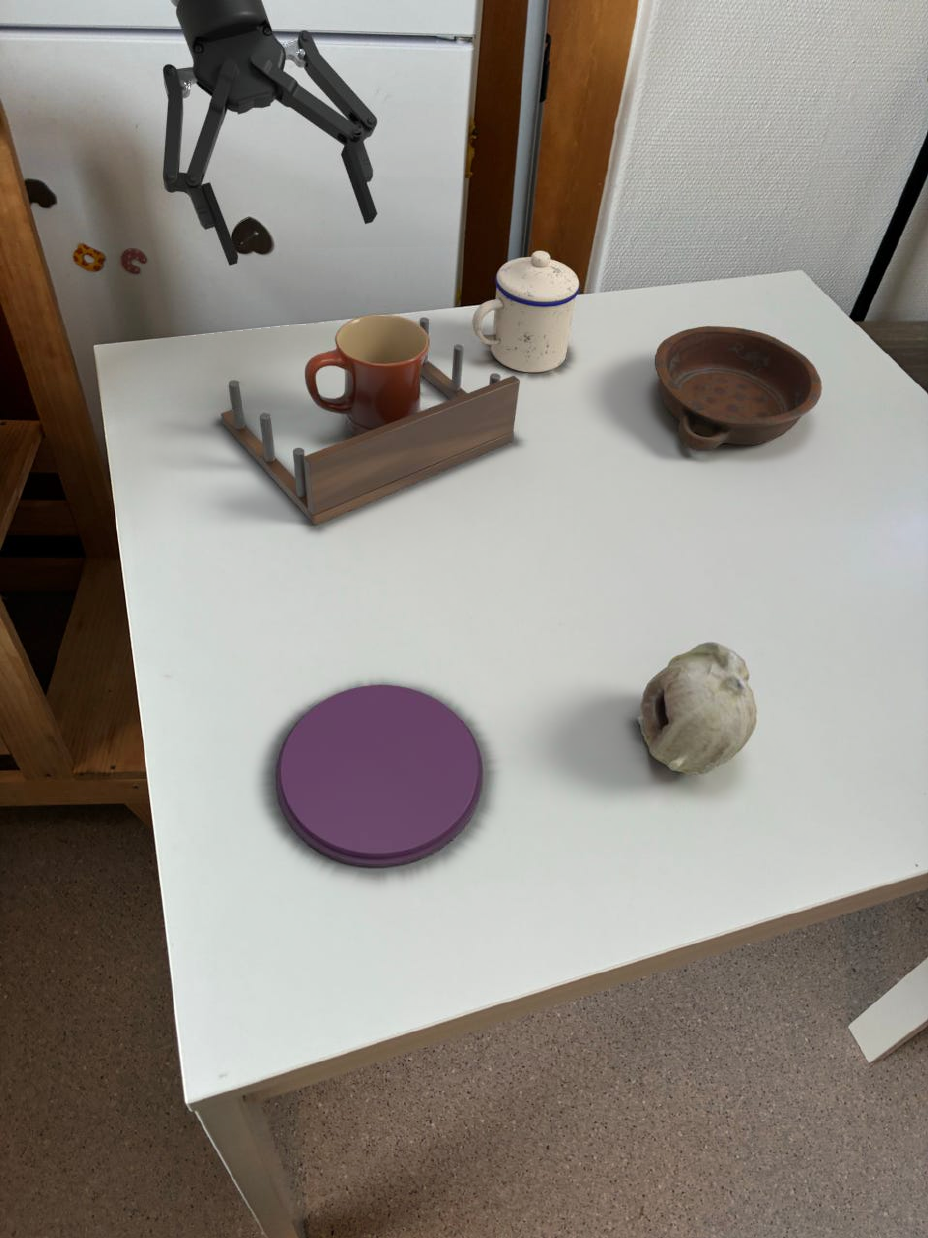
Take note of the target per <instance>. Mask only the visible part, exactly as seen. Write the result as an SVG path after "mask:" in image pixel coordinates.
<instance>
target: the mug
mask: <svg viewBox="0 0 928 1238" xmlns="http://www.w3.org/2000/svg"><path fill="white" fill-rule="evenodd" d="M334 342H335V347H336V348H335V349H333V350H328V351H325V352H322V353H318V354H316V355H314V356H312V357H311V358H310V359H309V360H308V361H307V363H306V365H305V367H304V381H305V385H306V389H307V392H308V394H309V396H310V398H311V399H312V401H313V402H314V403H315V405H317V406H318V407H319V408H320V409H322V410H324V411H326V412H331V413H335V414H341V415H345V418H346V422H347V425H348V428H349V430H350V432H351V433H352V435H353V436H354V437H356V436H358V435H361V434H363V433H366V432H369V431H371V430H374V429H376V428H379V427H382V426H384V425H387V424H389V423H392V422H394V421H397V420H400V419H402V418H405V417H407V416H410V415H413V414H415V413H418V412H420V411H422V408H421V399H422V398H421V396H422V393H421V392H422V391H421V390H422V389H421V388H422V387H421V376H422V375H421V368H422V364H423V361H424V359H425V356H426V353H427V351H428V352H429V347H430V343H431V341H430V335H429V336H428V334H427V332H426V331H425V330H424V329H423V328H422V327H421V326H420V323H417V322H415V321H413V320H412V319H409V318H406V317H403V316H399V315H394V314H384V313H383V314H382V313H381V314H379V313H377V314H367V315H363V316H359V317H356V318H353V319H351V320H348V322H347V321H346V323H344V324H343V325H341V327H340V328H339V329H338V330H337V332H336V334H335V335H334ZM325 367H336V368H337V367H338V368H340V369H342V370H344V390H343V391H344V392H343V394H342V395H340V396H339V397H333V398H332V397H331V398H329V397H326V396H323V395H321V393H320V392H319V389H318V384H317V374H318V372H319V371H320V370H321V369H323V368H325Z"/></svg>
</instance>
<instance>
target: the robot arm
mask: <svg viewBox="0 0 928 1238" xmlns="http://www.w3.org/2000/svg"><path fill="white" fill-rule="evenodd" d="M170 2H171V4H172V5H173V6H174V7H175V8H176V9H175V15H176V19H177V21H178V24H179V27H180V29H181V31H182V34H183V38H184V40H185V42H186V45H187V48H188V51H189V54H190V55H191V59H192V63H193V64H192V66H189V67H181V68H176V66H175V65H173V64H171V63H167V64H164V66H163V68H162V76H163V77H162V78H163V85H164V89H165V93H166V97H167V108H166V109H167V111H166V124H165V127H166V128H165V138H164V140H165V141H164V152H163V165H162V166H163V167H162V180H163V188H164V189H165V191H166V192H168V193H171V194H173V193H177V192H179V193H185V194H186V195H188V197H189V198H190V201H191V203H192V206H193V208H194V211H195V214H196V216H197V219H198V221H199V224H200V226H201V227H202V228H203V229H204V230H205V231H206V230H209V229H212V228H214V229H215V232H216V235H217V237H218V240H219V242H220V245H221V248H222V250H223V253H224V256H225V258H226V261H227V263H228V265H229V266H235V265H237V264H238V261H239V253H238V251H237V249H236V247H235V244H234V241H233V239H232V235H231V234H230V230H229V229H228V226H227V223H226V220H225V218H224V215H223V213H222V210H221V207H220V205H219V203H218V200H217V199H218V198H217V196H216V194H215V192H214V189H213V187H212V183H211V182H210V181H208V182H205V183H203V181H204V179H205V176H206V173H207V170H208V167H209V164H210V161H211V159H212V155H213V152H214V150H215V146H216V143H217V140H218V139H219V138H218V137H219V134H220V131H221V129H222V126H223V125H224V122H225V119H226V115H227V113H228V110H229V111H230V112H232V113H237V115H242V114H245V113H247V112H250V110H253V109H264V108H268V107H270V106H271V104H272V103H274V101H277V102H278V103H279V104H281V105H282V106H284V107H286V108H290V109H291V110H293V111H295V112H296V113H297V114H299V115H300V116H301V117H303V118H305V120H307V121H309V122H310V123H311V124H313V125H314V126H316V127H317V128H319V129H320V130H322V131H323V132H324V133H326V134H327V135H328V136H330V137H331V138H333V139H334V140H336V141H337V142H338V143H340V144H341V145H342V146H343V148H342V151H341V153H340V156H341V159H342V162H343V165H344V167H345V171H346V173H347V176H348V179H349V182H350V185H351V188H352V190H353V191H352V192H353V193H354V197H355V199H356V203H357V205H358V208H359V211H360V214H361V216H362V220H363V222H364V224H365V225H367V224H371V223H373V222H374V220H375V219H376V217H377V216H378V211H377V208H376V205H375V202H374V199H373V196H372V194H371V191H370V188H369V185H368V183H369V182H372V179H373V177H374V168H373V165H372V163H371V160H370V158H369V153H368V151H367V148H366V146H365V140H366V139H368V138H370V137H372V136H373V133H374V131H375V129H376V127H377V125H378V118H377V117H376V115H375V114H374V113H373V112H372V111H371V109H369V107H368V106H367V105H366V104H365V103H364V101H362V99H361V98H359V96H358V95H357V94H356V93H355V92H354V90H352V89H351V87H350V86H349V85H348V83H347V82H345V80H344V79H343V78H342V77H341V76H340V75H339V73H338V72H337V71H336V70H335V69H334V68H333V67H332V66H331V65H330V64H329V63H328V62H327V60H326V59H325V58H324V57H323V56H322V55H321V53H320V51H319V49H318V47H317V45H316V43H315V40H314V38H313V36H312V34H311V33H310V32H309V31H308V30H305V29H302V30H301V31H299V33H298V34H297V35H298V36H297V37H296V38H294V39H292V40H289V41H287V42H284V43H281V41H279V39H277V38H276V35H275V34H274V32H273V28H272V26H271V22H270V20H269V18H268V17H269V16H268V15H267V12H266V9H265V6H264V3H263V1H262V0H170ZM286 61H292V62H293V63H294V64H295V66H297V67H298V68H301V69H302V68H303V69H304V71H305V72H306V74H307V76H309V78H310V79H311V80H312V82H313V83H314V84H315V85H316V86H317V87H318V88H319V89H320V90H321V91H322V92H323V94H324V95H325V96H326V97H327V98H328V99H329V100H330V101H331V103H332V104H333V105H334V106H335V107H336V108H337V109H338V111H340V113H341V114H340V113H339V112H338V111H336V110H335V109H334V108H332V107H331V106H330V105H328V104H327V103H325V101H323V100H321V99H320V98H319V97H317V96H316V95H314V94H312V92H310V91H309V90H307V89H306V88H304V87H303V86H301V84H299V82H298V81H297V79H295V78H294V77H293V76H292V75H290V74H289V73H287V72H286V71H284V70H285V66H286ZM193 85H197V86H198V87H199V88H200V89H201V90H202V91H203V92H205V93H206V94H208V96H210V97H211V98H210V101H209V103H208V107H207V108H208V109H207V112H206V115H205V118H204V121H203V123H202V127H201V129H200V133H199V135H198V138H197V142H196V145H195V148H194V151H193V153H192V156H191V159H190V162H189V165H188V168H187V170H186V172H181V171H180V165H181V151H182V137H183V136H182V135H183V123H184V122H183V121H184V99H187V98H188V97H189V96H190V95H191V88H192V86H193Z"/></svg>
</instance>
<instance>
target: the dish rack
mask: <svg viewBox="0 0 928 1238" xmlns="http://www.w3.org/2000/svg"><path fill="white" fill-rule="evenodd" d="M419 325H420V326H421V327H422V328H423V329H424V330H425V331H426V332H427V334H428V336H429V337H430V318H428V317H421V318H419ZM464 350H465V349H464V345H462V344H458V343H457V344H455V345H453V352H452V353H453V354H452V367H451V368H452V370H451V371H452V372H451V378H450V377H449V376H447V375H446V374H445V373H443V371H441V370H440V369H439V368H438V367H436V366H435V365H434V364H433V363H432V362H431V361H429V350H428V351H427V353H426V356H425V359H424V361H423V364H422V368H421V375H420V376H422V377H423V378H424V379H425V380H427V382H429V383H430V384H431V385H432V386H433V387H435V388H436V389H437V390H438V391H440V392H441V393H442V394H443V395H444V396H446V397H447V398H448V399H449V400H446V401H443V402H442V403H441V402H440V403H439V404H436V405H433V406H431V407H428V408H426V409H423V410H421V411H420V412H418V413H415V414H413V415H410V416H407V417H405V418H402V419H400V420H397V421H394V422H392V423H389V424H387V425H384V426H382V427H379V428H376V429H374V430H371V431H369V432H366V433H363V434H361V435H358V436H356V437H355V436H353V437H351V438H348V439H345V440H343V441H339V442H338V443H336V444H333V445H330V446H327V447H324V448H322V449H319V450H317V451H314V452H312V453H309V454H307V455H306V454H305V450H304V448H302V447H295V448H294V449H293V450H292V458H293V468H294V469H293V470H294V476H293V475H292V474H291V472H290V471H289V469H287V468H286V467H285V466H284V465H283V464H282V463H281V461H279V459H278V458H277V457H276V452H275V444H274V434H273V426H272V417H271V414H270V413H268V412H262V413H260V414H259V418H258V419H259V425H260V432H261V440H260V439H259V438H258V437H257V435H255V433H253V431H252V430H250V428H249V427H248V426H247V425H246V421H245V414H244V408H243V400H242V393H241V385H240V382H239V381H238V380H235V379H233V380H230V381H229V382H228V383H227V385H228V391H229V397H230V404H231V409H229V410H225V411H222V412H221V413H220V419H221V424H223V426H224V427H225V428H226V429H227V430H228V431H229V432H230V433H231V435H232V436H233V437H234V438H235V439H236V440H237V441H238V442H239V443H240V444H241V446H242V447H243V448H244V449H245V450H246V451H247V452H248V453H249V455H251V456H252V458H253V459H254V460H255V461H256V462H257V463H258V465H259V466H261V468H262V469H263V470H264V471H265V472H266V473H267V474H268V475H269V477H270V478H271V479H272V480H273V481H274V482H275V483H276V485H277V486H279V488H280V489H281V490H282V491H283V492H284V493H285V494H286V495H287V496H288V498H289V499H290V500H291V501H292V502H293V503H294V504H295V506H296V507H297V508H298V509H299V510H300V511H301V512H302V513H303V514H304V515H305V516H306V518H308V520H309V521H310V522H311V523H312V524H313V525H314V526H318V525H320V524H322V523H325V522H327V521H329V520H332V519H334V518H336V517H340V516H341V515H343V514H346V513H348V512H350V511H353V510H355V509H358V508H360V507H363V506H365V505H367V504H370V503H372V502H374V501H376V500H378V499H381V498H383V497H386V496H388V495H391V494H393V493H395V492H398V491H400V490H402V489H404V488H407V487H409V486H411V485H413V484H416V483H419V482H421V481H423V480H425V479H428V478H430V477H433V476H435V475H438V474H440V473H442V472H444V471H448V470H450V469H453V468H454V467H456V466H459V465H461V464H463V463H465V462H466V463H467V462H468V461H471V460H472V459H474V458H477V457H480V456H481V455H484V454H487V453H489V452H491V451H494V450H496V449H499V448H501V447H503V446H506V445H507V444H510V443H512V442H514V436H515V423H516V417H517V407H518V401H519V392H520V385H521V380H520V379H519V378H518V377H516V376H515V375H511V376H509V377H506V378H503V379H501V376H500V374H499V373H495V372H493V373H491V374H490V375H489V383H488V385H485V386H483V387H480V388H478V389H475V390H473V391H470V392H467V391H465V390H464V389H463V388H462V376H463V375H462V374H463V364H464V363H463V362H464Z"/></svg>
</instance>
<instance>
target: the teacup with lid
mask: <svg viewBox="0 0 928 1238" xmlns="http://www.w3.org/2000/svg"><path fill="white" fill-rule="evenodd" d="M494 281H495V282H494V283H495V284H494V285H495V286H496V289H495V299H491V300H487V301H484V302H483V303H481V304H480V305H479V306H478V307H477V309H476V310H475V311H474V313H473V316H472V320H471V326H472V331H473V333H474V335H475V337H476V338H477V339H478V341H480V342H481V343H482V344H486V345H490V351H491V353H492V355H493V357H494V358H495V359H496V360H497V362H498V363H501V364H502V365H503V366H505V367H506V368H507V367H508V368H509V369H512V370H514V371H519V372H524V373H544V372H547V371H548V372H549V371H551V370H554V369H556V368H557V367H559V366H560V365H561V364H563V362H564V361H565V359H566V357H567V353H568V352H567V351H568V346H569V340H570V335H571V330H572V322H573V316H574V310H575V305H576V300H577V297H578V294H579V293H580V290H581V289H580V287H581V286H580V281H579V278H578V275H577V274H576V272H575V271H574V270H573V269H572V268H570V267H569V266H567V265H566V264H564V263H562V262H559V261H556V260H554V259H551V255H550V254H549V252H547V251H544V250H536V251H534V252H532V254H531V256H525V257H518V258H515V259H512V260H509V261H507V262H505V263H504V264H503V265H502V266H501V267H500V268H499V269H498V271H497V272H496V275H495V277H494ZM492 311H493V321H492V329H491V330H492V332H491V334H484V333H483V331H482V322H483V319H484V318H485V316H487V315H488V314H489V313H490V312H492Z"/></svg>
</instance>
